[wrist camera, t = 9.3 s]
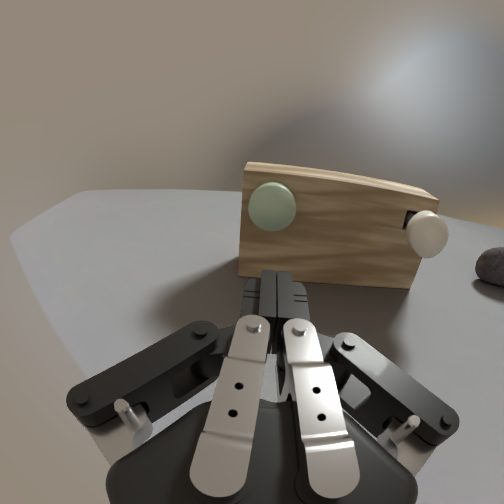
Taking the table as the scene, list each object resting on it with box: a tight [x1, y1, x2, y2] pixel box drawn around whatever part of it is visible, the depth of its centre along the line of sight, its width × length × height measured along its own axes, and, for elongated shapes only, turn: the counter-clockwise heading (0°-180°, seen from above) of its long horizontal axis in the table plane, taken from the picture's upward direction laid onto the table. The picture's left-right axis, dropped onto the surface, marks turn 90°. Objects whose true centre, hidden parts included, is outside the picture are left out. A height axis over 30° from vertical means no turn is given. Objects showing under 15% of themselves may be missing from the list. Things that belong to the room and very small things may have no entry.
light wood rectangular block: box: [238, 162, 439, 289], centre depth 30 cm, size 5×22×12 cm, turn 86°
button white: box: [404, 210, 449, 258], centre depth 25 cm, size 6×4×4 cm
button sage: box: [248, 181, 296, 231], centre depth 27 cm, size 6×4×4 cm
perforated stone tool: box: [475, 247, 504, 287], centre depth 31 cm, size 15×5×7 cm, turn 78°
